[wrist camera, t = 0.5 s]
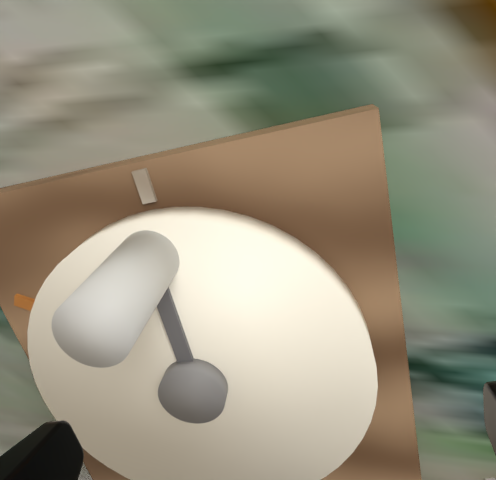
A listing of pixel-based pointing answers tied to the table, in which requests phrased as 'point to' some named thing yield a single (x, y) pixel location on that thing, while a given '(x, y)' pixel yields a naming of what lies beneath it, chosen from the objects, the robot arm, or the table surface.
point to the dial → (203, 350)
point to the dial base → (256, 206)
